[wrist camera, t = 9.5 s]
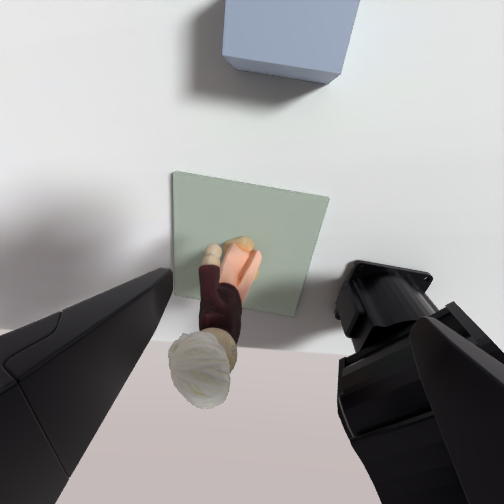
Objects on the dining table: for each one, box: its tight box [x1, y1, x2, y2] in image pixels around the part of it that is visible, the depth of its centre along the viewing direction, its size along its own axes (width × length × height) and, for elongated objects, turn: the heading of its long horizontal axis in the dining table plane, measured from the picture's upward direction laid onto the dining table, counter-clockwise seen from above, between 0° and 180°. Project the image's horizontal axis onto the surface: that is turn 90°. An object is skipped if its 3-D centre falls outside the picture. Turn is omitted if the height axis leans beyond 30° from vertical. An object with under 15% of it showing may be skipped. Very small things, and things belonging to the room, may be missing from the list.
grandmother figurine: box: [168, 236, 262, 409], centre depth 16 cm, size 8×4×13 cm, turn 19°
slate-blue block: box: [222, 0, 360, 84], centre depth 13 cm, size 6×4×4 cm, turn 82°
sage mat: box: [173, 171, 329, 317], centre depth 22 cm, size 12×12×1 cm
